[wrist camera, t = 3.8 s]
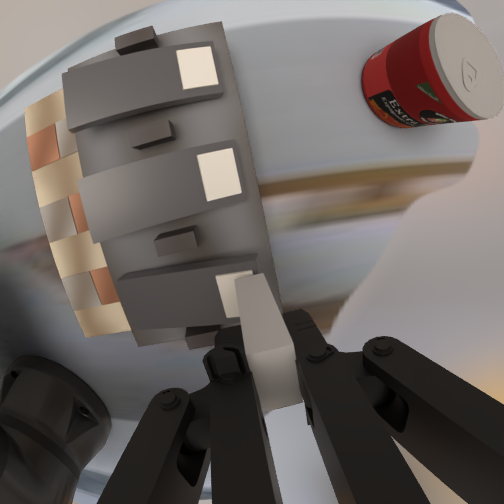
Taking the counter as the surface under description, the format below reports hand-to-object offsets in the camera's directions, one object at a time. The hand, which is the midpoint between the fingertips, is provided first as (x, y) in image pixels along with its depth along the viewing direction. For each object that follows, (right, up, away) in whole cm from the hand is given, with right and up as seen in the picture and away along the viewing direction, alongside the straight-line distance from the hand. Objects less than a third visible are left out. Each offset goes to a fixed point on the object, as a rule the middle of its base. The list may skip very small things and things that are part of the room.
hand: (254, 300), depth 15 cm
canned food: (+13, +18, +7) cm, 23 cm away
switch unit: (-9, +7, +7) cm, 14 cm away
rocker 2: (-4, 0, +2) cm, 5 cm away
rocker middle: (-5, +6, +1) cm, 8 cm away
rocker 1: (-6, +12, -1) cm, 14 cm away
